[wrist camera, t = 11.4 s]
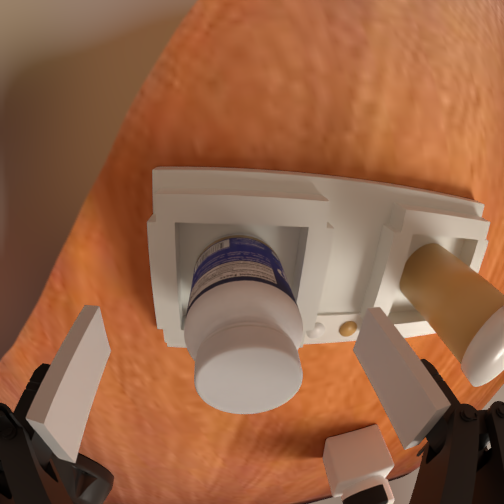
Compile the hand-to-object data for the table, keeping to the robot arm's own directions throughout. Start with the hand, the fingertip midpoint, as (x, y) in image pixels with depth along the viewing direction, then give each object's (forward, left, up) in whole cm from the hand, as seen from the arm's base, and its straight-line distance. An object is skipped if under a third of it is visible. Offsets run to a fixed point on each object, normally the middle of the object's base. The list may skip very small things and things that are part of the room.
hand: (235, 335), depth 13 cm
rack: (+7, 0, -7) cm, 10 cm away
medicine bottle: (+16, -27, -7) cm, 32 cm away
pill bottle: (0, 0, -6) cm, 6 cm away
